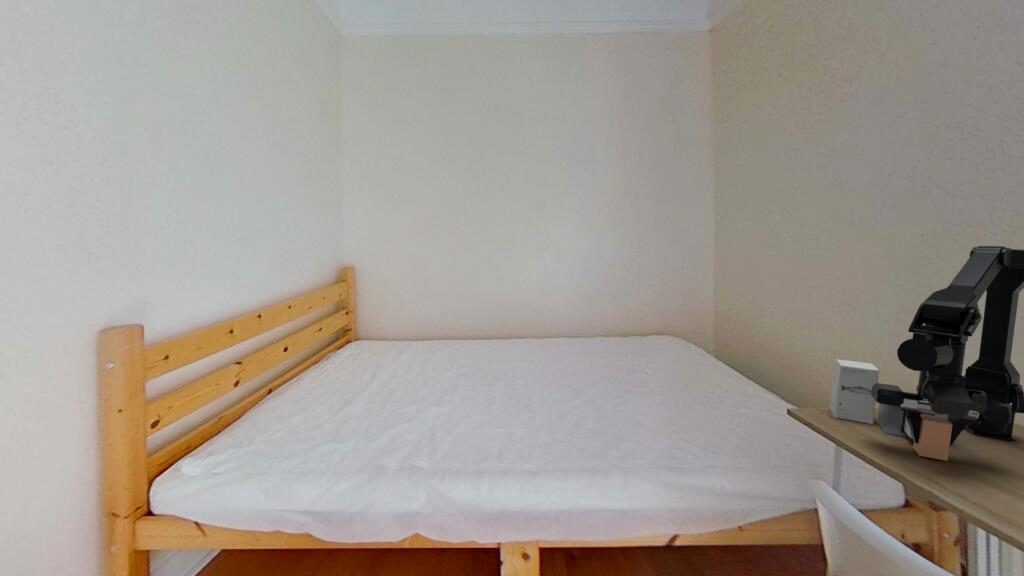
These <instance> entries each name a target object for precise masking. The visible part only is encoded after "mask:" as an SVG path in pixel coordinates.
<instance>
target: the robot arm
mask: <svg viewBox="0 0 1024 576" xmlns="http://www.w3.org/2000/svg"><path fill="white" fill-rule="evenodd" d="M1023 289H1024V249H1017V248H1016V249H1014V248H1013V249H1012V248H1011V247H1005V246H1001V245H991V246H990V245H979V246H973V247H972V248H971V250H970V252H969V258H968V259H967V260H966V262H965V263H964V264H963V266H962V267H961V269H960V270H959V271H958V273H957V274H956V275H955V276H954V278H953V279H952V281H951V282H950V283H949V285H947V286H946V287H945V288H942V289H939V290H935V291H934V292H932V293H931V294H930V295H929V296H928V297H927V298H926V299H925V300H924V301H923V302H921V304H920V305H919V307H918V309H917V311H916V312H915V315H914V317H913V319H912V320H911V323H910V325H909V328H908V331H907V332H908V333H912V338H909V339H906V340H904V341H903V342H902V343H900V344H899V346H898V348H897V350H896V353H897V354H896V355H897V358H898V361H899V362H900V363H901V364H902V365H903V366H904V367H906V369H909V370H912V371H914V372H919V376H918V381H917V382H918V385H916V390H915V391H916V392H917V393H915V392H908V391H904V390H902V389H901V388H900V386H898V385H895V384H886V383H880V382H878V383H876V384H874V385H873V386H872V392H871V395H872V397H873V398H874V399H875V403H878V404H879V403H880V404H886V405H892V406H897V407H898V408H899V409H900V410H901V411H904V414H905V416H906V418H907V421H908V424H909V427H910V430H911V433H912V436H913V438H912V440H913V443H914V442H915V443H917V444H918V442H919V419H920V415H921V411H920V410H919V409H918V404H924V405H930V406H931V410H932V411H933V412H935V413H937V414H942V415H943V414H948V418H947V420H948V421H949V422H950V423H951V424H952V431H951V439H950V446H949V449H950V448H951V446H952V445H953V444H954V443H955V441H956V440H957V438H958V437H959V435H961V433H962V432H963V431H964V430H965V429H967V430H968V431H970V432H971V433H972V434H973V435H976V436H977V435H978V436H981V437H988V438H993V439H1001V440H1006V441H1012V442H1013V441H1014V442H1016V440H1017V438H1015V437H1014V436H1013V431H1014V424H1015V423H1014V422H1015V416H1016V414H1024V388H1023V385H1021V384H1020V382H1021V381H1020V380H1021V375H1020V372H1018V370H1017V368H1016V367H1015V366H1014V364H1013V362H1011V359H1012V351H1013V344H1014V343H1013V342H1014V337H1015V335H1014V334H1015V326H1016V320H1017V311H1018V304H1019V295H1020V292H1021V291H1023ZM985 292H986V293H985ZM984 293H985V301H984V303H985V304H984V312H983V318H982V314H981V310H980V309H979V302H980V299H981V298H982V297H983V295H984ZM982 319H983V320H982ZM981 321H982V329H981V335H980V337H981V338H980V344H979V353H978V359H976V360H975V361H974V362H973V363H972V364H971V365H969V366H968V367H966V368H965V374H964V375H963V370H964V369H963V368H964V361H965V354H966V347H967V342H968V341H969V337H973V335H974V333H975V331H976V330H977V328H978V326H979V325H980V323H981ZM923 399H925V400H923ZM927 400H928V401H927Z"/></svg>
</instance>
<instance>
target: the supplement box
mask: <svg viewBox="0 0 1024 576" xmlns="http://www.w3.org/2000/svg"><path fill="white" fill-rule="evenodd" d="M832 373H833V375H832V383H831V391H830V402H829V410H830V412H831V414H832V416H833V418H834V419H843V420H847V421H853V422H859V423H863V424H869V425H873V424H874V417H875V408H876V401H875V399H874V398H873V397H872V395H871V392H872V386H873V385H874V384H876V383H879V376H880V369H878V368H877V367H876V366H875V365H874V364H873V363H869V362H864V361H863V362H861V361H855V360H854V361H853V360H849V359H848V360H846V359H838V358H835V359H834V364H833V372H832Z"/></svg>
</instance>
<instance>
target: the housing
mask: <svg viewBox="0 0 1024 576" xmlns="http://www.w3.org/2000/svg"><path fill="white" fill-rule="evenodd" d="M923 400H925V399H923ZM927 401H928V400H927ZM918 409H919V410H920V411H921V412H922V413H928V414H930V415H932V416H938V417H945V418H946V419H947V418H948V414H943V415H942V414H937V413H935V412H933V411H932V410H931V406H930V405H924V404H918ZM877 412H878V413H877V419H876V421H877V423H878V425H879V426H880V427H881V429H882V428H883V429H882V430H883V432H884V431H885V432H884V433H885V434H887V433H888V434H887V435H892V434H893V436H898V435H899V436H898V437H903V436H905V437H904V438H909V436H908V435H907V433H906V432H905V431H904V429H903V428H902V426H903V417H904V411H901V410H900V409H899V408H898V407H897V406H892V405H886V404H880V403H878V411H877Z"/></svg>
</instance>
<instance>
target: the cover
mask: <svg viewBox="0 0 1024 576" xmlns="http://www.w3.org/2000/svg"><path fill="white" fill-rule="evenodd" d="M902 428H903V429H904V431H905V432H906V433H907V435H908V436H909V437H910V439H913V436H912V433H911V430H910V427H909V424H908V421H907V418H906V416H905V414H904V417H903V426H902ZM951 431H952V424H951V423H950V422H949V421H948V420H947V419H946V418H945V417H938V416H932V415H930V414H928V413H922V412H921V415H920V419H919V442H918V444H917V443H915V442H914V441H913V449H914V450H915V452H916V453H917V454H918V456H920V457H925V458H930V459H935V460H940V461H945V462H948V460H949V451H950V448H949V446H950V439H951ZM909 437H908V438H909Z"/></svg>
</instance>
